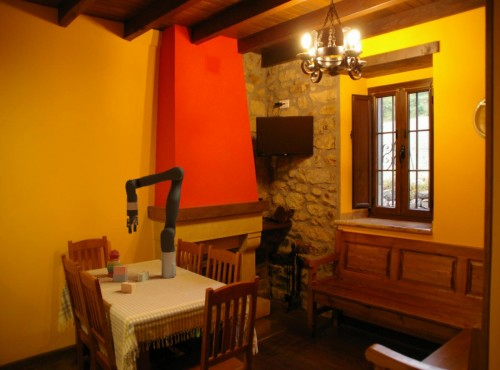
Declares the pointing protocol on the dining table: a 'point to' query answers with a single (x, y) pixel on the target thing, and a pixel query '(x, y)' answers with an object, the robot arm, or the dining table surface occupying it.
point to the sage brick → (143, 276)
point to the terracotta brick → (120, 270)
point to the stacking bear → (113, 262)
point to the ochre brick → (128, 287)
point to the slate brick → (119, 278)
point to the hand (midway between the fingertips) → (132, 232)
